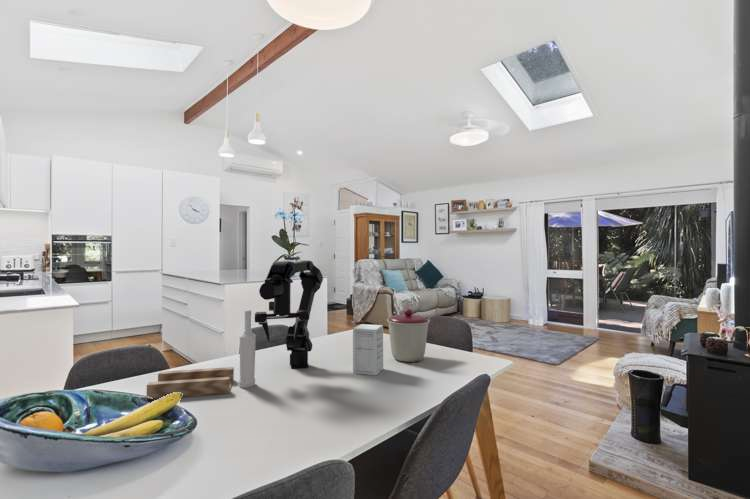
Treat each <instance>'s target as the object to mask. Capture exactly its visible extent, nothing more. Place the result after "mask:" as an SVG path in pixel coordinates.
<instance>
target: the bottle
mask: <svg viewBox="0 0 750 499" xmlns="http://www.w3.org/2000/svg"><path fill="white" fill-rule="evenodd" d="M256 340H257V335H256V334H255V333H254V332H253V330H252V309H246V310H244V329H243V332H242V333H241V334H240V335H239V380H238V383H239V384H238V385H239V388H243V389H246V388H247V389H249V388H252V387H255V384H256V378H255V375H256V374H255V372H256V371H255V370H256V369H255V368H256V342H257V341H256Z"/></svg>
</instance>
